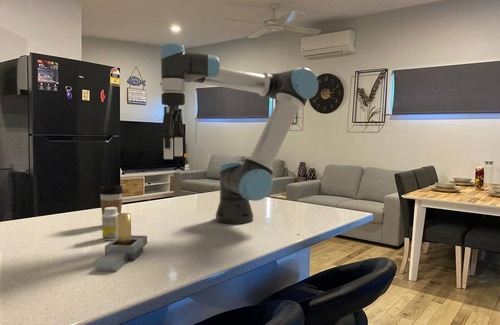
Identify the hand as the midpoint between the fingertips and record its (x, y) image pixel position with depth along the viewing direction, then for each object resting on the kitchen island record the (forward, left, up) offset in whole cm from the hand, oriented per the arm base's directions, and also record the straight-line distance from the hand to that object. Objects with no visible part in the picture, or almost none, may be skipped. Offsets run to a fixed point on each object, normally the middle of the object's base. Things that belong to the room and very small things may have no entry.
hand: (173, 157), depth 127 cm
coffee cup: (+27, -13, -27) cm, 40 cm away
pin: (+9, +21, -27) cm, 35 cm away
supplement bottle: (+20, +4, -27) cm, 34 cm away
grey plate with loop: (+9, +21, -27) cm, 35 cm away
